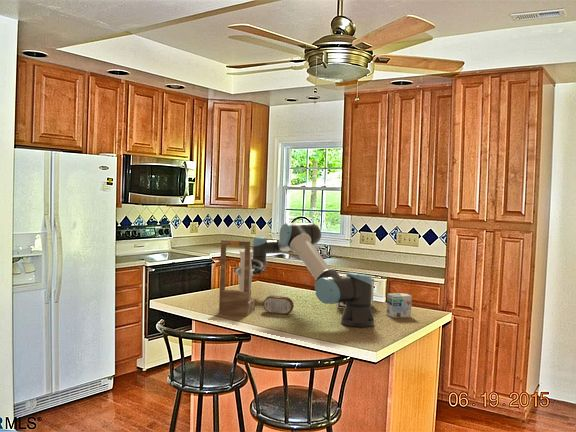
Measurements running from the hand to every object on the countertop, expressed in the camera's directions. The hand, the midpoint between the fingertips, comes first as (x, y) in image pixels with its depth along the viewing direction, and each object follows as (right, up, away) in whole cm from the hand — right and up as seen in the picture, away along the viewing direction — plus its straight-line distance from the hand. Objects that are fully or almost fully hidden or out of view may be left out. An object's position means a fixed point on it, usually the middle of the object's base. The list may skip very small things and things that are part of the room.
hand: (243, 273), depth 279 cm
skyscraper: (0, -15, +6) cm, 16 cm away
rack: (-2, -18, -8) cm, 20 cm away
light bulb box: (+78, -21, -6) cm, 81 cm away
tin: (+18, -19, -9) cm, 27 cm away
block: (+58, -19, +13) cm, 63 cm away
